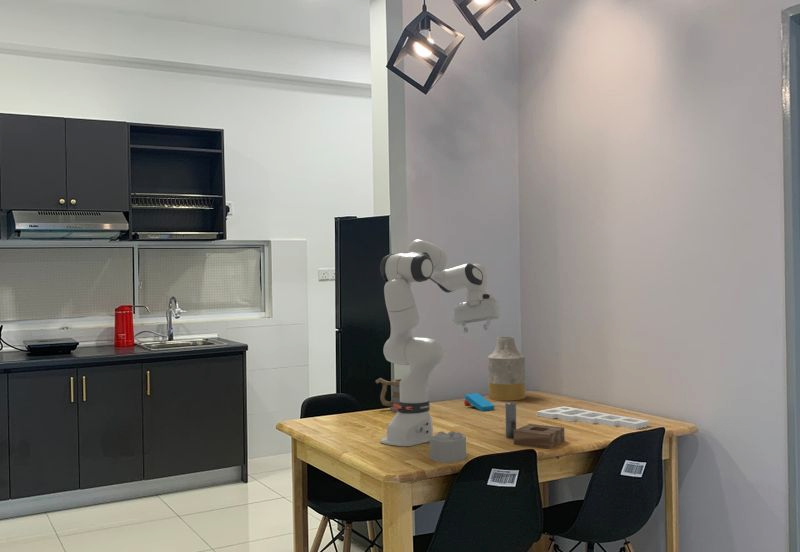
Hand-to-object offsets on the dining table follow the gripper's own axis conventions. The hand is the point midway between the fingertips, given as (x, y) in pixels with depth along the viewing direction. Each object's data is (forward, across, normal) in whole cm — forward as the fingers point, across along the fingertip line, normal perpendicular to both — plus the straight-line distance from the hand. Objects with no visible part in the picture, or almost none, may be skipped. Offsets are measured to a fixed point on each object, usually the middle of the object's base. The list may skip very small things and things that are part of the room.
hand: (475, 330), depth 313 cm
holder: (+30, +35, +42) cm, 63 cm away
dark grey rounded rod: (+45, +15, +3) cm, 48 cm away
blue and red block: (+18, -21, +49) cm, 56 cm away
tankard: (+21, -53, +29) cm, 64 cm away
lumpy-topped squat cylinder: (+61, +6, -32) cm, 69 cm away
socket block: (+49, +27, 0) cm, 56 cm away
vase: (+4, -17, +77) cm, 79 cm away
